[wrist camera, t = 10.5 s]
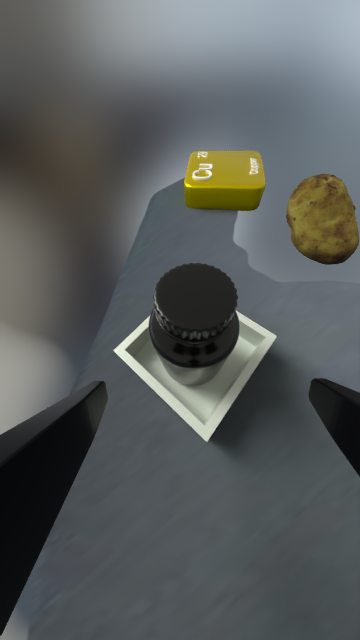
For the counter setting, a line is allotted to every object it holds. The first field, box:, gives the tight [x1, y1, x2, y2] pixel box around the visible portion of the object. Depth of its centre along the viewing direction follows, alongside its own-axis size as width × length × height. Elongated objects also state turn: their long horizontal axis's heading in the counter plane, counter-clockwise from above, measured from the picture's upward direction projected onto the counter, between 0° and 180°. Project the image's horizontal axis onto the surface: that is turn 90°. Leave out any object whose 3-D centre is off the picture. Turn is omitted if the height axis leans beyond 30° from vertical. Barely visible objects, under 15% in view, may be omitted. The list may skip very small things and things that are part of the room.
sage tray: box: [114, 311, 277, 442], centre depth 20 cm, size 12×12×4 cm
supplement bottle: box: [149, 263, 240, 386], centre depth 15 cm, size 7×7×12 cm
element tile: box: [184, 151, 266, 211], centre depth 37 cm, size 15×15×5 cm
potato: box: [286, 174, 359, 264], centre depth 26 cm, size 8×13×8 cm, turn 174°
